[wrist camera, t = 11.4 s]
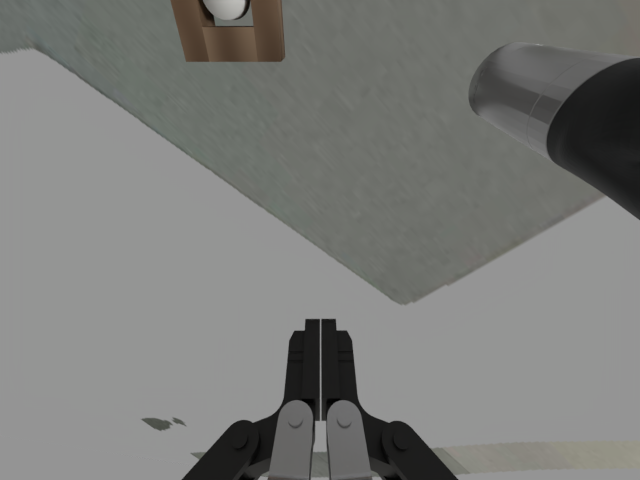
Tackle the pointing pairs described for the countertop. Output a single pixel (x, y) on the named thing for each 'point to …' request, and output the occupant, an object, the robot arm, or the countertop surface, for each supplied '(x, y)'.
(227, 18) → the button
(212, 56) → the brown wooden block
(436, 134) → the countertop surface
